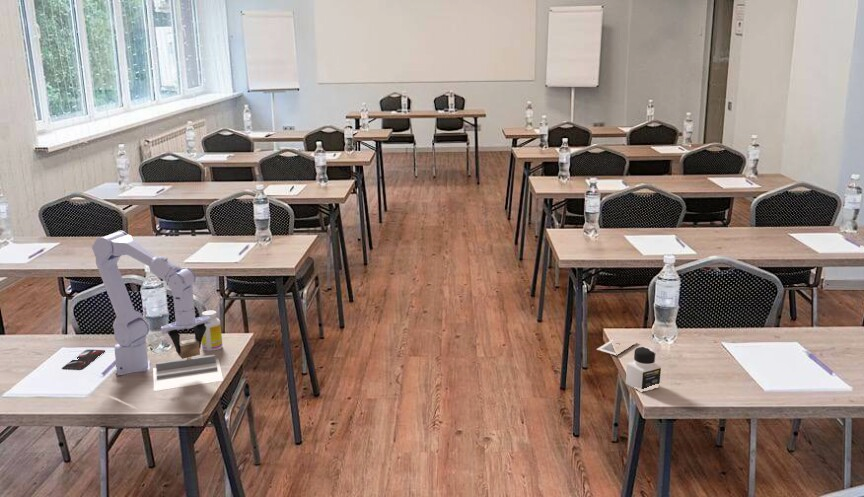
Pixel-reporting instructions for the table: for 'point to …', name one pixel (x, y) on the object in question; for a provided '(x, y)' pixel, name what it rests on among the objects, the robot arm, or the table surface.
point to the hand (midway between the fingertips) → (188, 350)
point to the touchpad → (608, 348)
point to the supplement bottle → (212, 332)
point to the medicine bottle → (643, 369)
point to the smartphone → (83, 359)
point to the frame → (189, 348)
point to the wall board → (186, 372)
